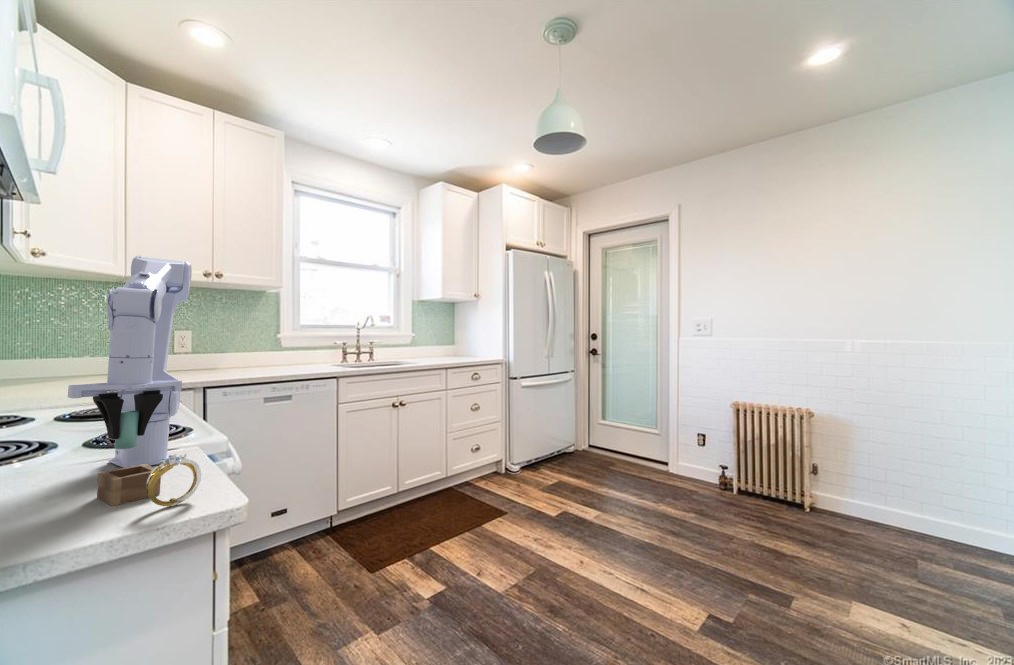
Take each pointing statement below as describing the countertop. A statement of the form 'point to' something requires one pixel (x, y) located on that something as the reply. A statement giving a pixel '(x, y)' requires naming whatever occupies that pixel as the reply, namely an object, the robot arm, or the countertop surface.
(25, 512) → the countertop surface
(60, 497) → the countertop surface
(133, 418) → the teal cylinder
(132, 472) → the bead block
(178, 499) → the ring
